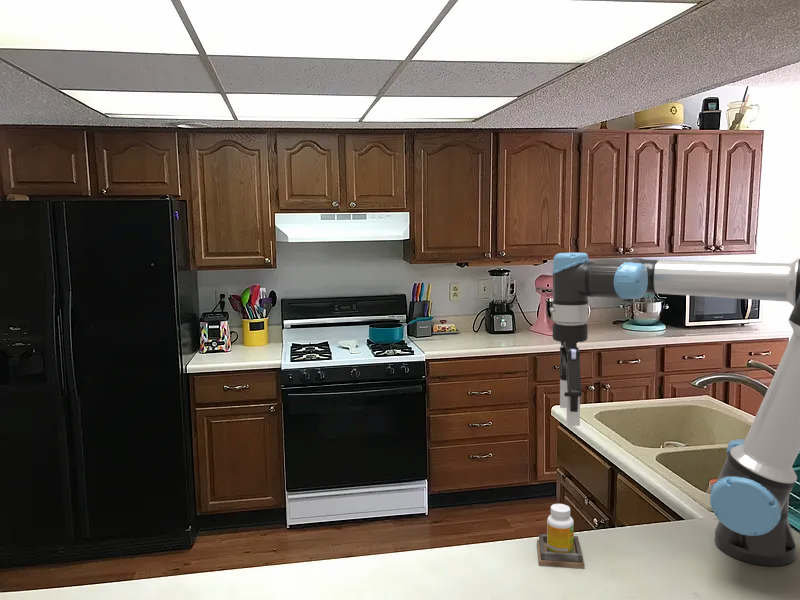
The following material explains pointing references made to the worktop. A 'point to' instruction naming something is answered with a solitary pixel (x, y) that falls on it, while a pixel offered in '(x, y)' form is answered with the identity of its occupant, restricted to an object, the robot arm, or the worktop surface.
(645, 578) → the worktop surface
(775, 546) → the robot arm
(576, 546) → the socket board
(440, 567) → the worktop surface
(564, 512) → the supplement bottle
